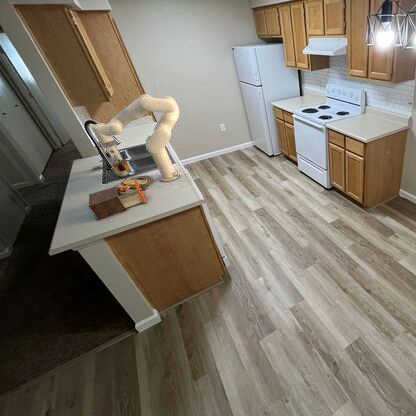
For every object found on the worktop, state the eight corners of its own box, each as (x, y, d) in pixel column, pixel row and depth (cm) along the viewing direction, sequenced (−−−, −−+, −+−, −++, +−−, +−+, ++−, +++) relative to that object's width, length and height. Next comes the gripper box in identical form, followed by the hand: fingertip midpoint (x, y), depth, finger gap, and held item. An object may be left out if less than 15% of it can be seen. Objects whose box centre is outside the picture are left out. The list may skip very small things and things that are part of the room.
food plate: (105, 195, 180) (102, 191, 178) (130, 178, 199) (127, 174, 196) (137, 196, 176) (135, 191, 174) (159, 178, 195) (157, 174, 193)
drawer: (147, 190, 180) (141, 178, 175) (151, 201, 169) (144, 188, 164) (119, 200, 173) (111, 187, 167) (121, 211, 162) (112, 198, 156)
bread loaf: (130, 167, 183) (125, 159, 179) (130, 169, 179) (126, 161, 176) (116, 171, 179) (111, 163, 176) (117, 173, 176) (112, 165, 172)
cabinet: (124, 199, 174) (116, 186, 168) (126, 210, 163) (117, 196, 157) (98, 207, 168) (89, 194, 162) (98, 219, 157) (88, 206, 151)
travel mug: (125, 177, 201) (111, 152, 189) (117, 177, 201) (102, 153, 189) (130, 173, 206) (117, 149, 194) (122, 173, 206) (108, 149, 194)
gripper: (116, 145, 164) (130, 171, 175) (114, 138, 176) (128, 163, 186) (101, 149, 161) (117, 175, 171) (101, 141, 172) (115, 166, 183)
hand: (122, 168), depth 179 cm, fingers closed on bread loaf, 5 cm apart
